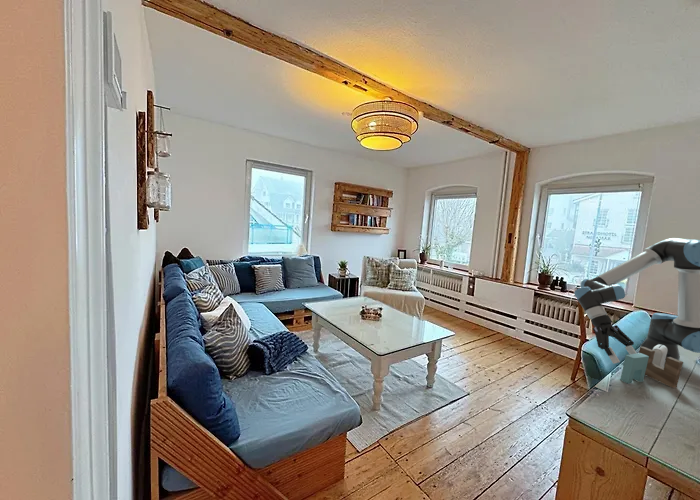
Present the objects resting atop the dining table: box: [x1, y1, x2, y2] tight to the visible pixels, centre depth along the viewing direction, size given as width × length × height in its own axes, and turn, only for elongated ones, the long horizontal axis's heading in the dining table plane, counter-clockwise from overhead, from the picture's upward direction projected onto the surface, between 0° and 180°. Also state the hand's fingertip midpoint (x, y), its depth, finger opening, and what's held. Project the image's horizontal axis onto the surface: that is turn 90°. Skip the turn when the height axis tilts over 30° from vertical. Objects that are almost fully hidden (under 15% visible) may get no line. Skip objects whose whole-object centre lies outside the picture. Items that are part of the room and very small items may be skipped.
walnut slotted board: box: [638, 346, 684, 389], centre depth 136 cm, size 2×14×12 cm, turn 17°
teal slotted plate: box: [620, 352, 649, 384], centre depth 133 cm, size 10×3×12 cm, turn 107°
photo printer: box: [652, 344, 668, 368], centre depth 145 cm, size 10×4×12 cm, turn 123°
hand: (627, 361), depth 134 cm, fingers open, 13 cm apart
